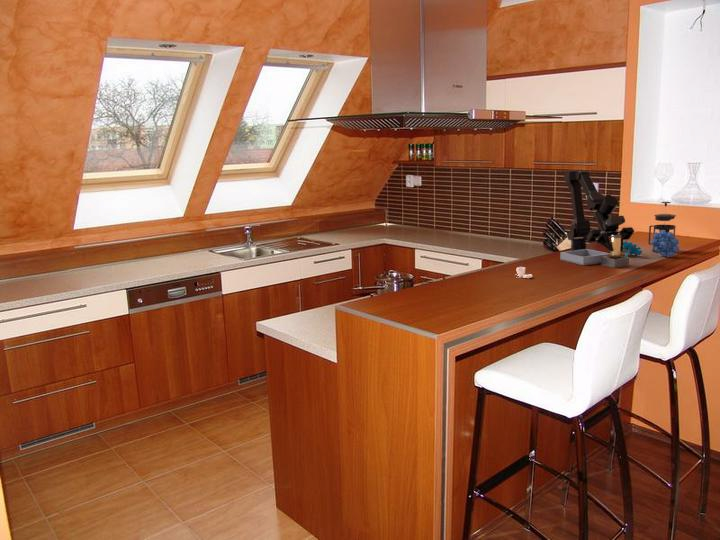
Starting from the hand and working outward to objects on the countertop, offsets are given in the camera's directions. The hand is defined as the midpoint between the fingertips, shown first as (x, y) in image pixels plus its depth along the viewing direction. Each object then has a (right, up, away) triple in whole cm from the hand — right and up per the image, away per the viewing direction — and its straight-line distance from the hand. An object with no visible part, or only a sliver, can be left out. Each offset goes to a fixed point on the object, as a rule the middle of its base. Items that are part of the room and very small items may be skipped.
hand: (617, 250), depth 253 cm
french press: (+33, 0, +28) cm, 43 cm away
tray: (-8, -4, +15) cm, 17 cm away
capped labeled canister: (0, -6, +3) cm, 7 cm away
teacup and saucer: (-44, -12, -13) cm, 48 cm away
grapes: (+27, -3, +15) cm, 31 cm away
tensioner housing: (0, -6, +3) cm, 7 cm away
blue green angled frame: (+14, -2, +20) cm, 25 cm away
